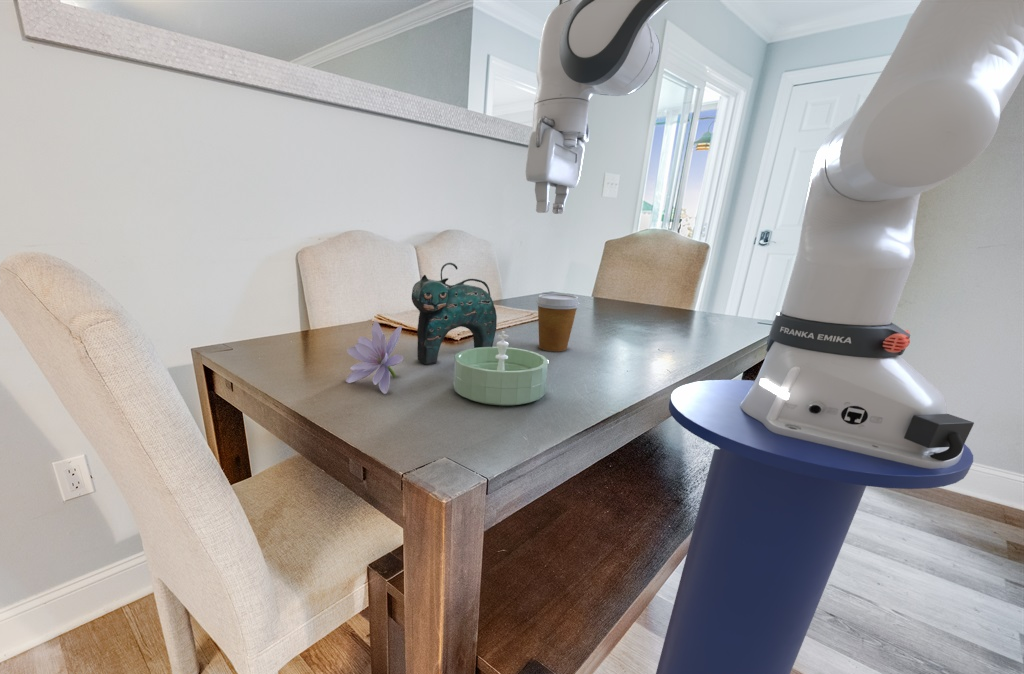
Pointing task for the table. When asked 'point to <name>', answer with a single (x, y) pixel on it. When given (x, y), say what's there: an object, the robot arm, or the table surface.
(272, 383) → the table surface
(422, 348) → the ceramic cat
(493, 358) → the mint green pet bowl
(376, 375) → the water lily
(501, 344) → the chess piece
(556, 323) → the disposable coffee cup
